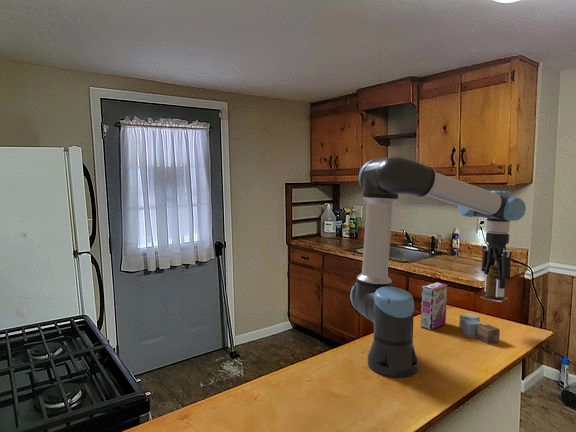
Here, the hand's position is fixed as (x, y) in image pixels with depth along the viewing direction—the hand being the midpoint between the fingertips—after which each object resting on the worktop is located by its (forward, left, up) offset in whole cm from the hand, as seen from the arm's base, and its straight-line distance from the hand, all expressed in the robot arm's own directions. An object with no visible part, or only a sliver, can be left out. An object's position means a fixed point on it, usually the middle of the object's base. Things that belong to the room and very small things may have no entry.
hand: (493, 293), depth 144 cm
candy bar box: (-18, +10, -15) cm, 26 cm away
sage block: (-6, +6, -15) cm, 17 cm away
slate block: (-8, 0, -15) cm, 17 cm away
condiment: (0, 0, -2) cm, 2 cm away
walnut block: (-6, -6, -15) cm, 18 cm away
